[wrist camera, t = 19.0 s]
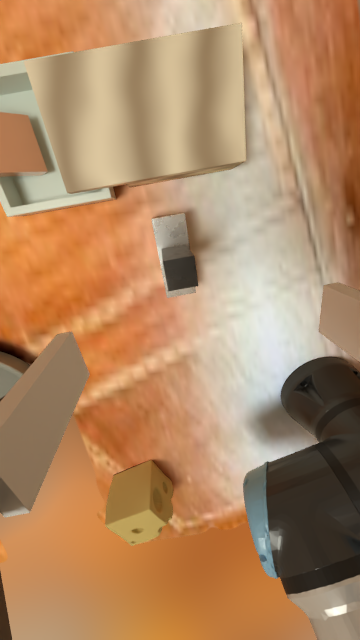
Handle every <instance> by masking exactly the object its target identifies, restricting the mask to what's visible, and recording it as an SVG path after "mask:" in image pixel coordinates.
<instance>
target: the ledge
mask: <svg viewBox="0 0 360 640" xmlns="http://www.w3.org/2000/svg"><path fill="white" fill-rule="evenodd" d="M24 64H25V67H26V70H27V73H28V77H29V80H30V83H31V86H32V89H33V92H34V95H35V98H36V101H37V104H38V107H39V110H40V113H41V116H42V119H43V122H44V125H45V128H46V131H47V134H48V137H49V140H50V143H51V146H52V149H53V152H54V155H55V158H56V161H57V164H58V167H59V170H60V173H61V176H62V179H63V182H64V185H65V188H66V191H67V193H70V194H74V193H80V192H86V191H91V190H97V189H102V188H108V187H113V186H119V185H124V184H126V185H127V186H128V187H136V186H141V185H147V184H152V183H158V182H163V181H169V180H174V179H180V178H185V177H191V176H196V175H202V174H207V173H213V172H219V171H224V170H230V169H232V168H234V167H236V166H238V165H239V164H241V163H243V162H245V161H246V140H245V108H244V76H243V44H242V23H238V24H232V25H227V26H221V27H215V28H210V29H204V30H198V31H192V32H187V33H181V34H175V35H170V36H164V37H158V38H153V39H147V40H141V41H136V42H130V43H124V44H119V45H113V46H107V47H102V48H96V49H90V50H85V51H79V52H73V53H68V54H62V55H56V56H50V57H45V58H39V59H33V60H28V61H24Z"/></svg>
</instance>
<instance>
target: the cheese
mask: <svg viewBox="0 0 360 640" xmlns="http://www.w3.org/2000/svg"><path fill="white" fill-rule="evenodd" d="M172 496H173V486H172V482H171V480H170V479H169V478H168V477H167V476H165V475H164V474H163V472H162V471H161V470H160V469H159V468H158V467H157V466H156V464H155V463H154V462H153V461H152V460H149V461H147V462H144V463H142V464H139V465H137V466H135V467H132V468H130V469H128V470H125V471H123V472H121V473H118V474H116V475H114V477H113V480H112V483H111V486H110V490H109V495H108V500H107V506H106V523H105V525H106V527H107V528H108V529H110V530H111V531H112V532H114V533H115V534H117V535H119V536H120V537H122V538H123V539H124V540H125V541H127V542H128V543H129V544H130V545H132V546H133V545H136V544H139V543H143V542H146V541H149V540H151V539H153V538H155V537H157V536H159V535H160V533H161V530H162V527H163V526H165V525H166V524H167V523H168V520H171V519H172V515H173V506H172V503H171V498H172Z"/></svg>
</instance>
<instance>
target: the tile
mask: <svg viewBox="0 0 360 640" xmlns="http://www.w3.org/2000/svg"><path fill="white" fill-rule="evenodd" d="M46 172H48V171H47V168H46V165H45V162H44V159H43V157H42V154H41V151H40V148H39V145H38V142H37V139H36V137H35V134H34V131H33V128H32V125H31V122H30V119H29V116H28V115H22V114H13V113H5V112H0V177H9V176H39V175H43V174H45V173H46Z"/></svg>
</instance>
